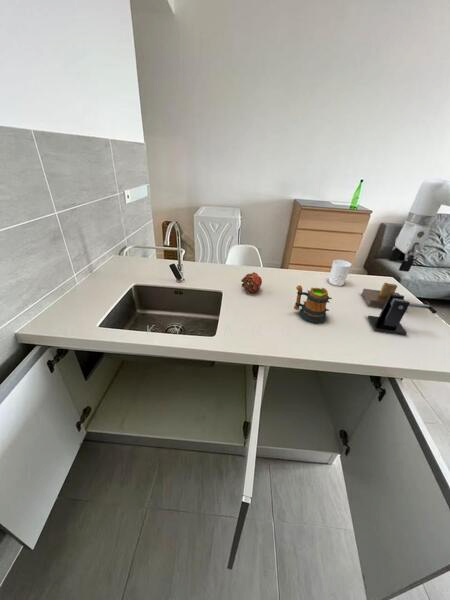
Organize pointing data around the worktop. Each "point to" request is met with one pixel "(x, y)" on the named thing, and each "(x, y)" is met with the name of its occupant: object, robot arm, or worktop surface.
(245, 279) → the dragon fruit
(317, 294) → the mug
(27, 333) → the worktop surface
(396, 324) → the handle bracket
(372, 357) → the worktop surface
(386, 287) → the tall mustard panel
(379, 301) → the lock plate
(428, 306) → the door lever
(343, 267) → the white cup
